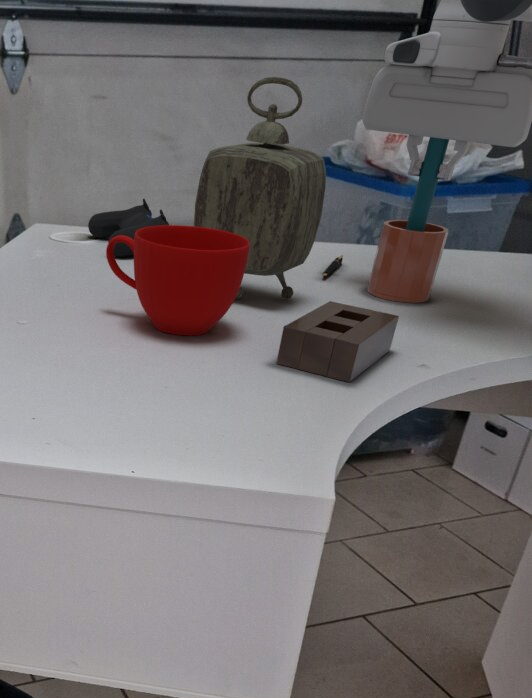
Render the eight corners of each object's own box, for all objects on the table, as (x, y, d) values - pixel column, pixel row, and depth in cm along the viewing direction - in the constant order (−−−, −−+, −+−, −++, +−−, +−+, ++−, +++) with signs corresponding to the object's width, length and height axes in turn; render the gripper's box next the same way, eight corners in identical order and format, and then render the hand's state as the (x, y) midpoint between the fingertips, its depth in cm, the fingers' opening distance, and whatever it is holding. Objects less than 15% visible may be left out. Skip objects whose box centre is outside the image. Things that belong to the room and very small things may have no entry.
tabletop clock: (304, 300, 112) (348, 82, 97) (277, 313, 105) (321, 83, 91) (208, 279, 118) (237, 72, 104) (178, 291, 112) (204, 72, 97)
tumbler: (435, 294, 119) (455, 227, 113) (419, 306, 113) (439, 235, 108) (377, 283, 122) (394, 217, 117) (359, 294, 116) (376, 225, 111)
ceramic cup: (126, 299, 107) (133, 215, 101) (250, 324, 101) (265, 237, 95) (78, 322, 97) (83, 231, 92) (212, 352, 91) (227, 256, 85)
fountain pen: (326, 281, 121) (328, 270, 120) (318, 280, 122) (320, 269, 121) (343, 263, 132) (346, 253, 131) (336, 261, 132) (338, 252, 132)
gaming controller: (123, 276, 126) (181, 240, 125) (107, 241, 123) (166, 205, 122) (97, 250, 139) (149, 218, 138) (82, 219, 136) (134, 185, 135)
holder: (389, 350, 95) (399, 315, 93) (349, 382, 86) (359, 344, 83) (322, 335, 99) (329, 300, 97) (276, 363, 89) (283, 326, 87)
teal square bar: (420, 251, 114) (452, 135, 106) (415, 253, 113) (447, 137, 105) (403, 248, 115) (433, 133, 107) (397, 250, 114) (428, 134, 106)
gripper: (558, 59, 99) (516, 186, 107) (389, 46, 108) (362, 165, 115) (549, 58, 94) (506, 192, 102) (374, 45, 103) (347, 169, 111)
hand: (428, 177), depth 109 cm, fingers closed on teal square bar, 2 cm apart
